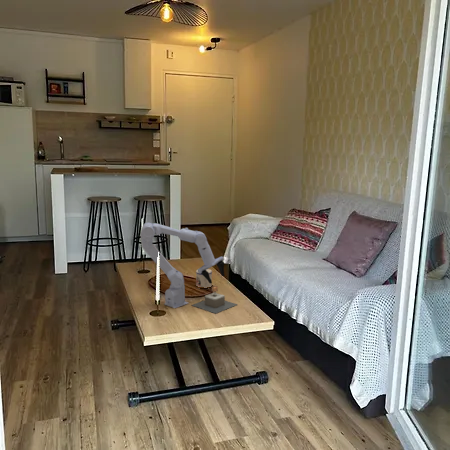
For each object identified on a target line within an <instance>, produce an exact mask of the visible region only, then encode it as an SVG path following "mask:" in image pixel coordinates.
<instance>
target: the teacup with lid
mask: <svg viewBox="0 0 450 450" xmlns="http://www.w3.org/2000/svg"><path fill="white" fill-rule="evenodd" d="M206 271H207V272H208V273H209V276H210V279H211V281H212V279H213V278H212V277H213V275H212V273H213V270H212V269H210V268H208V269H207V270H206ZM195 275H196V276H195V279H196V280H195V285H196V286H198V287H204V288H207V287H211V286H213V285H212V284H213V281H212V283H209V282H208V280H207V279H206V278H205V277H204V276H203V275H202V274H201V273H198V270H195ZM196 286H195V287H196ZM211 288H212V287H211Z"/></svg>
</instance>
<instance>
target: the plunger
mask: <svg viewBox="0 0 450 450" xmlns="http://www.w3.org/2000/svg"><path fill="white" fill-rule="evenodd" d="M218 289H219V287H218V286H217V285H212V287H211V291H212V293H214V294H213V296H214V297H215V296H216V293H217V292H218Z"/></svg>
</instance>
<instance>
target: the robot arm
mask: <svg viewBox="0 0 450 450" xmlns="http://www.w3.org/2000/svg"><path fill="white" fill-rule="evenodd" d="M161 234H164V235H170V236H173V237H178V239H179V240H180V241H183V242H189V243H194V244H195V245H196V246H197V249H198V252H199V255H200V256H201V259H202V261H203V265H202V266H200V267H199V268H198V269H197V270H198V273H201V274H202V275H203V276H204V277H205V278H206V279H207V280H208V282H209V283H212V284H213V281H211V279H210V276H209V273H208V272H207V271H206V270H207V269H210V268H212V267H213V266H215V265H216V266H217V268H218V270H219V273H220V275H221V276H222V277H225V258H224V256H219V257H216V258H215V256H214V254H213V251H212V248H211V246H210V244H209V241H208V238H207V237H206V234H205V233H203V232H202V231H198V230H191V229H189V228H188V227H185V228H180V229H177V228H174V227H171V226H167V225H163V224H161V223H156V222H155V223H154V222H153V223H152V222H149V221H148V222H145V223H144V224H143V225H142V228H141V232H140V240H141V241H140V242H141V247H142V249H143V250H144V251H145V252H146V253H147V255H148V256H149V257H150V258H151V260H152V261H153V262H154V263H155V264H156V265H157V257H158V252H159V253H160V266H158V267H159V268H160V270H162V272H163V273H164V274H165V275H166V277H167V279H168V280H169V282H170V284H169V285H170V286H169V288H168V289H166V290H165V292H164V299H165V300H164V303H163V305H165V306H168V307H170V308H173V309H177V308H179V307H182V306H185V305H188V304H189V302H188V301H186V299H185V298H186V297H185V295H186V293H185V292H186V291H185V289H186V287H185V278H184V274H183V273H182V272H181V271H179V270H177V269H176V268H175V267H174V266H173V265H172V264H171V263H170V262H169V261H168V260H167V259H166V257H165V256H164V255H163V254H162V253H161V252H160V250H158V248H157V247H156V246H155V245H154V243H153V239H154V237H155V236H158V235H159V236H160V235H161ZM197 270H196V271H197Z"/></svg>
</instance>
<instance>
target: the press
mask: <svg viewBox="0 0 450 450" xmlns="http://www.w3.org/2000/svg"><path fill="white" fill-rule="evenodd" d="M213 294H214V292H212V293H209V294H206V295H204V300H202V301H198V302H197V303H194V304H191V306H192V307H195V308H197V309H200V310H203V311H206V312H209V313H212V314H215V315H216V314H219V313H222V312H223V311H226V310H229V309H232V308H233V307H236V306H238V304H237V303H234V302H231V301H228V300H225V299H226V297H225V296H226V295H224V294H220V293H219V292H218V293H217V292H216V296H215V297H214V296H213Z"/></svg>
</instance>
